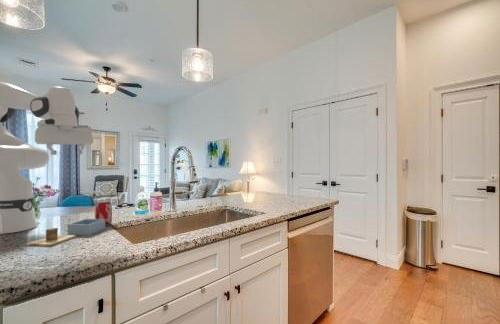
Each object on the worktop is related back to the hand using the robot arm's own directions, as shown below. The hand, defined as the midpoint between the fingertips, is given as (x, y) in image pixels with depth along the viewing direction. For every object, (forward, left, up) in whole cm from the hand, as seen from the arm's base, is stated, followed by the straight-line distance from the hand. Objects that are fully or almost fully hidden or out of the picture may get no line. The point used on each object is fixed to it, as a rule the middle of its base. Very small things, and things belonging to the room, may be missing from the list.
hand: (67, 154), depth 101 cm
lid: (+4, -11, -34) cm, 36 cm away
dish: (+8, +1, -35) cm, 36 cm away
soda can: (+6, +14, -35) cm, 38 cm away
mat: (+4, -11, -35) cm, 37 cm away
